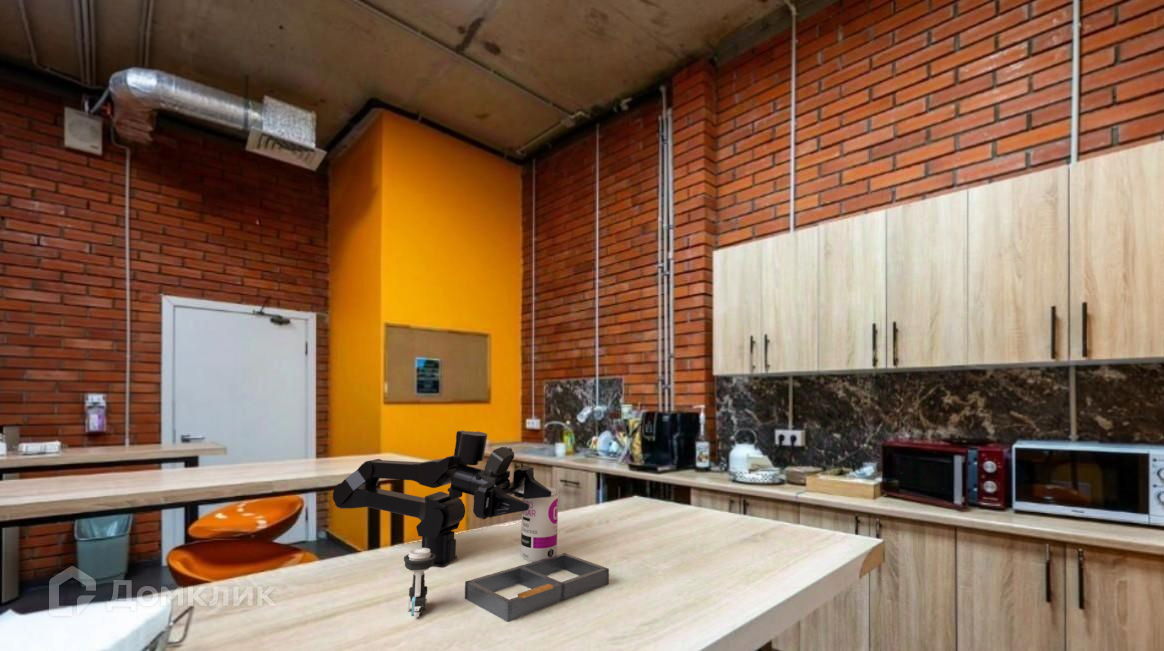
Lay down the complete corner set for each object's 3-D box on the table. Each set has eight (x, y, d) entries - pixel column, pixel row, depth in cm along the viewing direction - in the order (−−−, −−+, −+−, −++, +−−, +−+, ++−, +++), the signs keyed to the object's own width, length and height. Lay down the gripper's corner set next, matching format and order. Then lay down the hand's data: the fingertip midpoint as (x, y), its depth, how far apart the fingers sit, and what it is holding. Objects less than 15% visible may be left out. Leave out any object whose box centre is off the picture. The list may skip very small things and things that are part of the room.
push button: (432, 618, 93) (434, 557, 94) (399, 621, 91) (401, 559, 92) (433, 602, 99) (436, 545, 100) (402, 605, 98) (405, 547, 99)
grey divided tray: (464, 598, 101) (465, 579, 102) (564, 567, 119) (564, 551, 119) (508, 622, 92) (508, 600, 92) (609, 584, 109) (609, 566, 110)
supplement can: (561, 553, 128) (563, 487, 129) (548, 565, 120) (550, 494, 121) (529, 549, 130) (531, 484, 132) (514, 560, 123) (516, 491, 124)
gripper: (453, 455, 110) (519, 473, 104) (505, 437, 127) (564, 452, 121) (448, 509, 111) (514, 530, 104) (500, 484, 128) (559, 501, 121)
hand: (540, 500), depth 113 cm, fingers open, 9 cm apart
